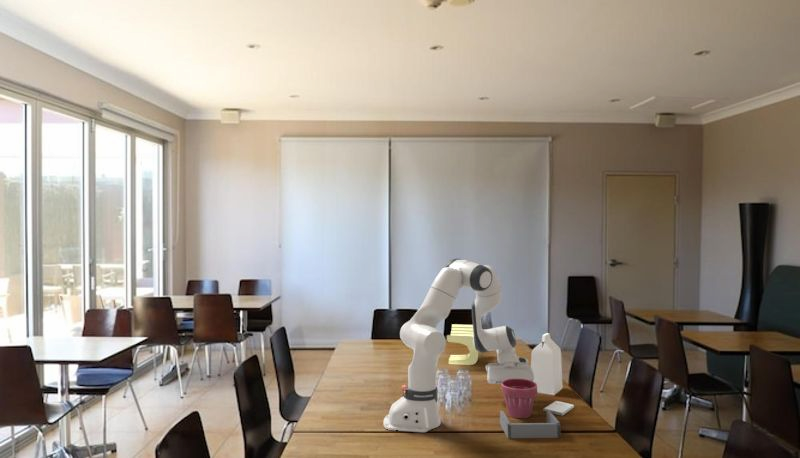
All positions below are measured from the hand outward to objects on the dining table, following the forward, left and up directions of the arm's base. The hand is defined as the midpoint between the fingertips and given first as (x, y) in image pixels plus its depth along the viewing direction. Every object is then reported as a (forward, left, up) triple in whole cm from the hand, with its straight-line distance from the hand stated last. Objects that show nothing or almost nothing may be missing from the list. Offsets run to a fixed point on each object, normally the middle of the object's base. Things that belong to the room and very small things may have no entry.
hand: (512, 391), depth 225 cm
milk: (+20, +20, -6) cm, 29 cm away
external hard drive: (+18, -6, -6) cm, 20 cm away
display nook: (0, -27, -5) cm, 28 cm away
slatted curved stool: (-12, +70, -6) cm, 71 cm away
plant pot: (0, -11, -6) cm, 13 cm away
